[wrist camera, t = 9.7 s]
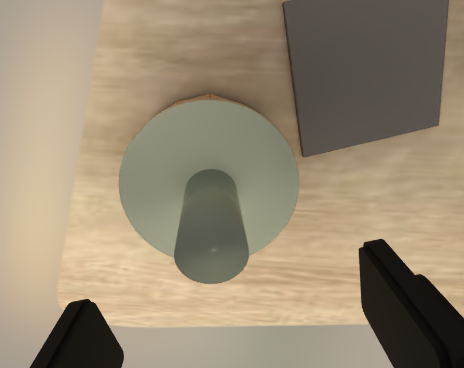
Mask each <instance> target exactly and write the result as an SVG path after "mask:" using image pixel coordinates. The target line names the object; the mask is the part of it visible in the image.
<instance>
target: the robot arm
mask: <svg viewBox="0 0 464 368" xmlns="http://www.w3.org/2000/svg"><path fill="white" fill-rule="evenodd" d="M359 264H360V284H361V303H362V309H363V312H364V314H365V316H366V318H367V320H368V322H369V324H370V325H371V327H372V329H373V331H374V333H375V334H376V336H377V338H378V340H379V342H380V344H381V345H382V347H383V349H384V351H385V352H386V354H387V356H388V358H389V360H390V362H391V363H392V365H393V367H394V368H464V318H463V317H462V316H461V315H460V314H459V313H458V311H457V310H456V309H455V308H454V307H453V306H452V305H451V304H450V303H449V302H448V301H447V299H446V298H445V297H444V296H443V295H442V294H441V293H440V292H439V291H438V290H437V289H436V287H435V286H434V285H433V284H432V283H431V282H430V281H429V280H428V279H427V278H426V277H425V276H423V275H421V274H419V275H414V274H413V272H412V271H411V270H410V269H409V268H408V267H407V266H406V264H405V263H404V262H403V261H402V260H401V259H400V258H399V256H398V255H397V254H396V253H395V252H394V251H393V250H392V248H391V247H390V246H389V245H388V244H387V243H386V242H385V241H384V240H383V239H378V240H373V241H368V242H365V243H364V244H363V247H361V248H359ZM123 360H124V354H123V350H122V348H121V346H120V345H119V343H118V341H117V340H116V338H115V336H114V334H113V333H112V331H111V329H110V328H109V326H108V324H107V322H106V321H105V319H104V317H103V316H102V314H101V312H100V310H99V309H98V307H97V305H96V304H95V303H94V302H91V301H90V300H89V299H84V300H79V301H74V302H71V303H69V304H68V305H67V307H66V309H65V310H64V312H63V314H62V315H61V317H60V318H59V320H58V322H57V323H56V325H55V327H54V328H53V330H52V332H51V333H50V335H49V337H48V338H47V340H46V342H45V343H44V345H43V347H42V348H41V350H40V352H39V353H38V355H37V357H36V358H35V360H34V361H33V363H32V365H31V366H30V368H121V367H122V364H123Z"/></svg>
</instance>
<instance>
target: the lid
mask: <svg viewBox="0 0 464 368" xmlns="http://www.w3.org/2000/svg"><path fill="white" fill-rule="evenodd" d="M298 191H299V173H298V168H297V163H296V160H295V157H294V155H293V152H292V150H291V148H290V146H289V145H288V143H287V141H286V140H285V139H284V137H283V136H282V135H281V133H280V132H279V131H278V130H277V129H276V127H275V126H274V125H273V124H272V123H271V122H270V121H269V120H268V119H266V118H265V117H264V116H262V115H261V114H260V113H258V112H256V111H255V110H253V109H251V108H249V107H247V106H245V105H242V104H239V103H237V102H233V101H229V100H224V99H214V98H205V99H195V100H189V101H185V102H182V103H179V104H176V105H173V106H171V107H169V108H167V109H165V110H163V111H162V112H160V113H159V114H157V115H156V116H154V117H153V118H152V119H151V120H150V121H149V122H148V123H147V124H145V125H144V127H143V128H142V129H141V130H140V131H139V132H138V134H137V135H136V136H135V137H134V138H133V140H132V142H131V143H130V145H129V147H128V148H127V150H126V153H125V155H124V157H123V160H122V164H121V168H120V174H119V193H120V198H121V203H122V206H123V208H124V211H125V214H126V216H127V217H128V219H129V221H130V223H131V224H132V226H133V227H134V229H135V230H136V231H137V232H138V233H139V235H140V236H141V237H142V238H143V239H144V240H145V241H147V242H148V243H149V244H150V245H151V246H153V247H154V248H156V249H157V250H159V251H161V252H163V253H165V254H166V255H168V256H171V257H173V258H174V259H175V263H176V265H177V267H178V269H179V270H180V271H181V272H182V273H183V274H184V275H185V276H186V277H188V278H189V279H191V280H193V281H196V282H200V283H205V284H216V283H222V282H225V281H228V280H230V279H232V278H234V277H235V276H237V275H238V274H239V273H240V272H241V271H242V270H243V269H244V267H245V266H246V264H247V261H248V258H249V255H251V254H253V253H255V252H257V251H259V250H260V249H262V248H263V247H265V246H266V245H268V244H269V243H270V242H271V241H272V240H273V239H274V238H276V236H277V235H278V234H279V233H280V232H281V231H282V230H283V228H284V227H285V225H286V224H287V223H288V221H289V219H290V217H291V215H292V213H293V211H294V208H295V205H296V202H297V197H298Z"/></svg>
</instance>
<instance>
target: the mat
mask: <svg viewBox="0 0 464 368" xmlns="http://www.w3.org/2000/svg"><path fill="white" fill-rule="evenodd" d="M448 5H449V0H291V1H287V2H284V3H283V10H284V18H285V26H286V33H287V41H288V49H289V57H290V64H291V72H292V80H293V88H294V95H295V103H296V111H297V119H298V126H299V134H300V142H301V150H302V156H303V157H308V156H312V155H316V154H321V153H325V152H329V151H333V150H338V149H342V148H346V147H350V146H354V145H359V144H363V143H367V142H371V141H375V140H380V139H384V138H388V137H392V136H396V135H401V134H405V133H409V132H413V131H417V130H422V129H426V128H430V127H434V126H438V125H439V115H440V103H441V91H442V79H443V66H444V54H445V42H446V30H447V18H448Z"/></svg>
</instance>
